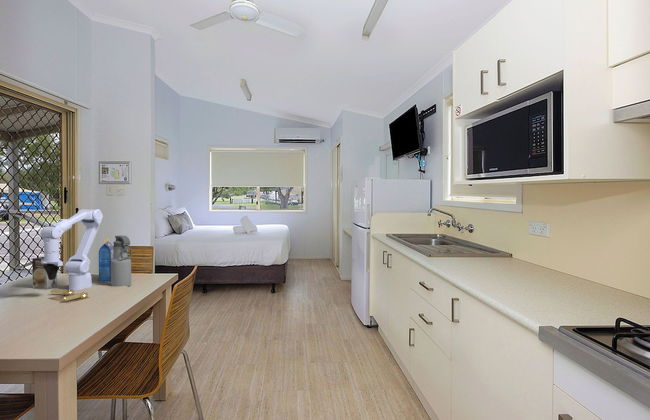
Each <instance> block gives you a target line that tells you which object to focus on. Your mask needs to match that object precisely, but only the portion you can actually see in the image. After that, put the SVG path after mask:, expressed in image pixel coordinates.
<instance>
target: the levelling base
mask: <svg viewBox="0 0 650 420" xmlns="http://www.w3.org/2000/svg"><path fill="white" fill-rule="evenodd" d="M63 297H65V296H64V294H59V295H57V296H53V297H48V298H47V299H48V300H52V301H57V302H60V303H65V304H70V303H74V302H78V301H82V300H86V299H89V298H90V299H91V297H90V296H88V297H87V298H84V299H78V298H75V299H71V300H67V301H63V300H62V298H63Z"/></svg>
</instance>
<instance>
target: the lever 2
mask: <svg viewBox="0 0 650 420" xmlns="http://www.w3.org/2000/svg"><path fill="white" fill-rule="evenodd" d="M87 297H89V293H88V292H79V293H74V295H70V296H65V297H63V298H62V300H63V301H67V300H71V299H75V298H78V299H83V300H85V299H84V298H87ZM87 299H88V298H87Z"/></svg>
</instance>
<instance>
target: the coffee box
mask: <svg viewBox="0 0 650 420" xmlns="http://www.w3.org/2000/svg"><path fill="white" fill-rule="evenodd" d="M41 259H44V256H39V257H35V258H34V257H33V258H32V260H31V261H32V262H31V263H32V264H31V267H32V269H31V270H32V273H31V274H32V289H39V290H40V289H43V290H49V289H52V288H55V287H57V286H58V285H57V284H58V280H57V279H58V277H57V276H58V275H56V278H55V279H53V280H49V278H48V275H47V272H46V270H45V269H44V268H43V266H44V265H47V264H45V263H43V264H42V263H41Z"/></svg>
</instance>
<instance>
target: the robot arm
mask: <svg viewBox="0 0 650 420" xmlns="http://www.w3.org/2000/svg"><path fill="white" fill-rule="evenodd" d="M103 218H104V215H103V213H102V211H101V209H99V208H98V209H88V208H87V209H86V208H82V209H80V210H78V211H77V213H75V214H73V215H72V216H71V217H69V218H67V219H66V218H61V219H59V221H57V222H56V223H52V224H51V225H50V226H44V227H43V228H42V229H41V231H40V234H39V235H40V237H41V238H42V242H43V257H44V259H41V263H42V264H43V263H45V264H47V265H44V266H43V268H44V269H45V270H46V272H47V275H48V278H49V280H53V279H55V278H56V275H57V274H58V272H59V270H60V268H61V267H62V266H64V271H65V273H66V274H67V275H68V290H74V291H79V290H83V289H84V290H85V289H87V288H88V289H89V288H92V286H93V285H92V284H93V283H92V278H93V277H92V274H91V273H90V272H89V270H90V264H91V259H89V257H88V256H89V254H90V251H91V249H92V246H93V244H94V241H95V238H96V237H97V234H98V232H99V229H100V226H101V223H102V220H103ZM80 222H81V223H82V224H83V226H85V227H86V228H85V231H84V233H83V236H82V238H81V241H80V243H79V245H78V248H77V250H76V252H75V254H74V255H72V256H70V257H69V258H68V260H67V261H66V263H65V265H64V261H62V260H60V239H61V238H62V236H63V234H64V233H66V232H68V231H69V230H71V229H72V228H73V226H74V225H75V224H77V223H80ZM57 276H58V275H57Z"/></svg>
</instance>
